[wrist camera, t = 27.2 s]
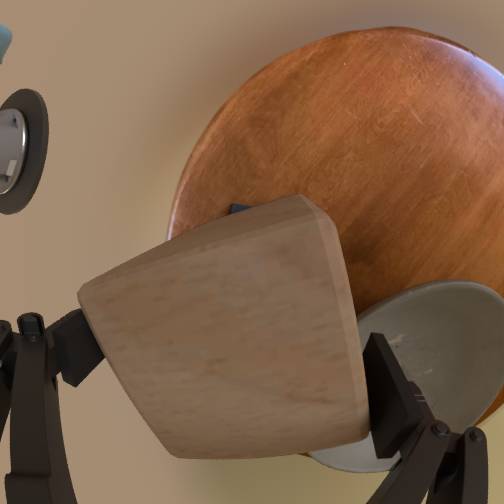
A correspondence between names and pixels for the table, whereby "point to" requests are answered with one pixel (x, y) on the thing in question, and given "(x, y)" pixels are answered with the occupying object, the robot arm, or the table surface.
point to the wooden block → (238, 336)
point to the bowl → (435, 357)
